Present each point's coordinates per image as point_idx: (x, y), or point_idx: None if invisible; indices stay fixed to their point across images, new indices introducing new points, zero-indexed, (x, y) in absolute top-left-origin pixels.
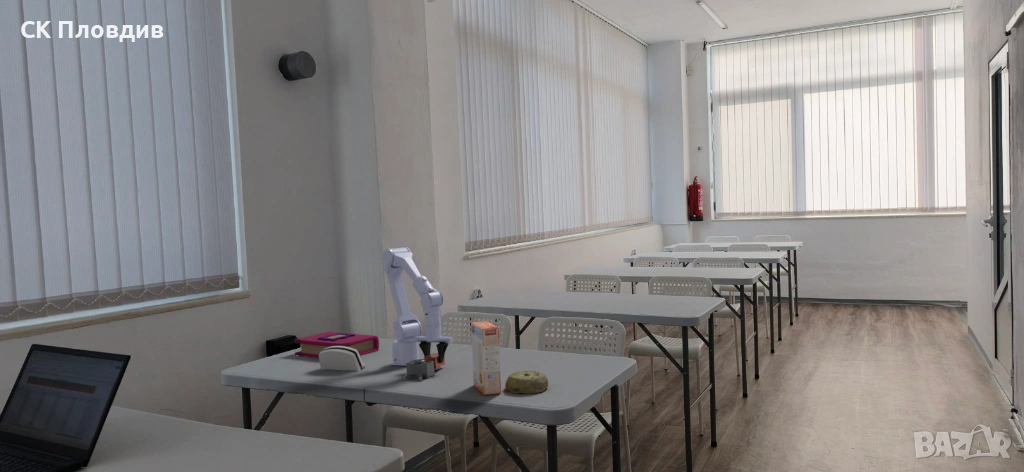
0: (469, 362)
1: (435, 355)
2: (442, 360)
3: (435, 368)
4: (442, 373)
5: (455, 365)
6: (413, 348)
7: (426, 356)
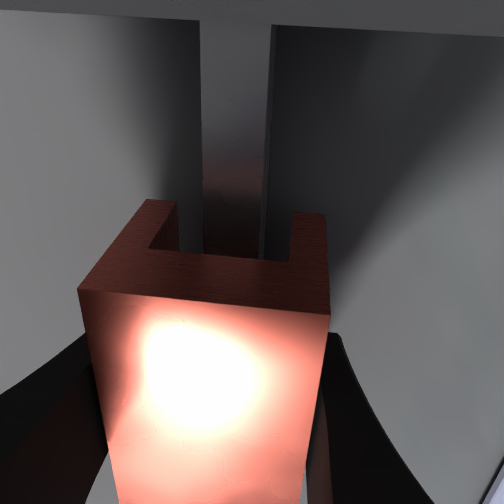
0: None
1: (175, 418)
2: None
3: (152, 202)
4: (41, 126)
5: None
6: None
7: (300, 361)
